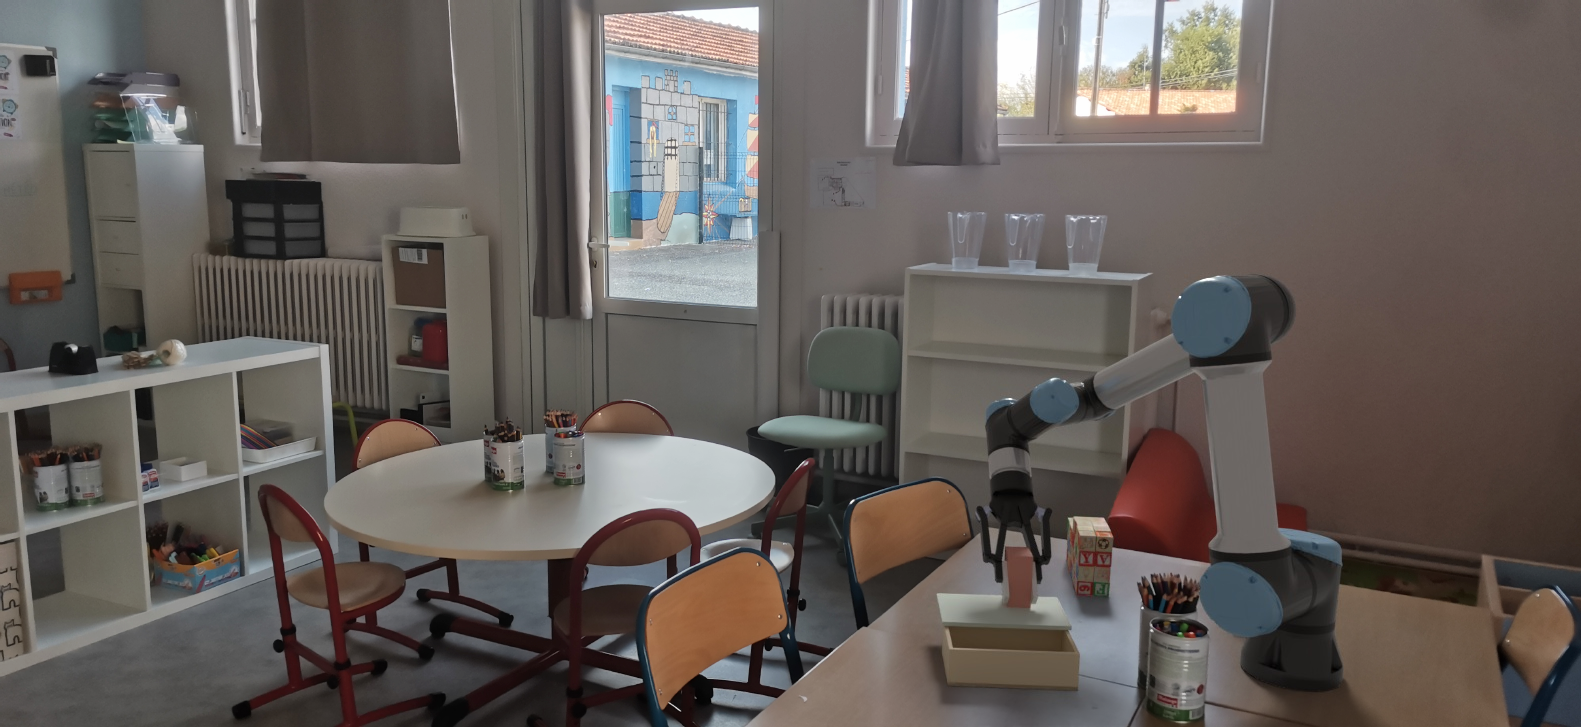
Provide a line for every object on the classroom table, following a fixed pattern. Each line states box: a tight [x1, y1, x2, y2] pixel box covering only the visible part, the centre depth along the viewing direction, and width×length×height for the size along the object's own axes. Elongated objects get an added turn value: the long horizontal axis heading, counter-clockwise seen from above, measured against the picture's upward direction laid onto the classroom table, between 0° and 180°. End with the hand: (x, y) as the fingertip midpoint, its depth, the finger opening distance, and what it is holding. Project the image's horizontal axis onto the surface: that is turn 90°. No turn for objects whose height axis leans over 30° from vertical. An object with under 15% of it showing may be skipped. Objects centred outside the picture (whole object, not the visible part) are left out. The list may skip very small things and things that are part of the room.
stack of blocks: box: [1066, 516, 1114, 598], centre depth 217 cm, size 21×6×12 cm, turn 171°
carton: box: [941, 626, 1081, 691], centre depth 174 cm, size 20×12×6 cm, turn 87°
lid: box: [935, 545, 1073, 631], centre depth 181 cm, size 21×13×10 cm, turn 87°
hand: (1020, 599), depth 181 cm, fingers closed on lid, 4 cm apart
